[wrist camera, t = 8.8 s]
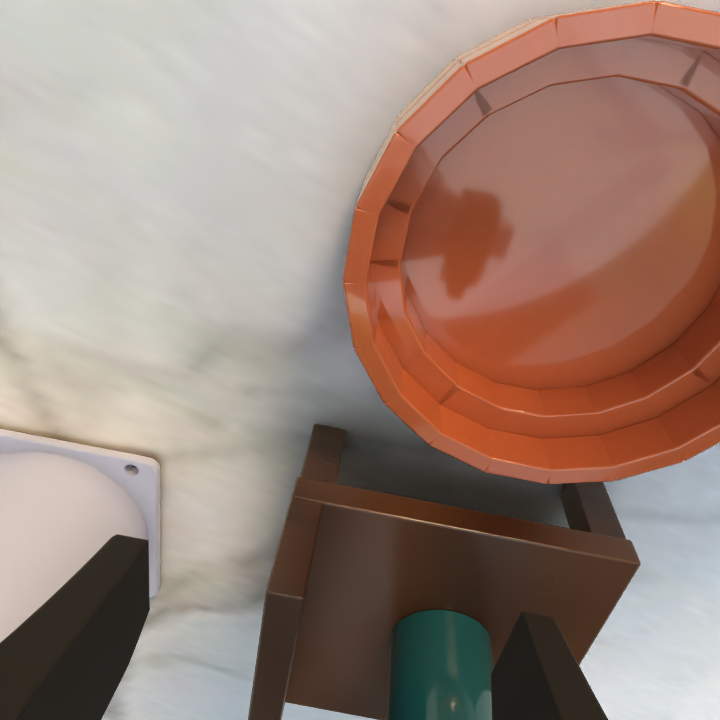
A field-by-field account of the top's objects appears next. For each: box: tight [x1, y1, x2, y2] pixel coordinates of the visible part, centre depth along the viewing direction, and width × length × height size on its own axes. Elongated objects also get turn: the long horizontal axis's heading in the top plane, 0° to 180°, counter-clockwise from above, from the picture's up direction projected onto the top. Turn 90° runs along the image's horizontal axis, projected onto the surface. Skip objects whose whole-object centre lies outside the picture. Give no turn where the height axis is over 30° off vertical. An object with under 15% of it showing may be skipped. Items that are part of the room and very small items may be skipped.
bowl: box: [343, 1, 720, 484], centre depth 16 cm, size 12×12×4 cm
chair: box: [248, 425, 640, 720], centre depth 21 cm, size 11×11×8 cm
